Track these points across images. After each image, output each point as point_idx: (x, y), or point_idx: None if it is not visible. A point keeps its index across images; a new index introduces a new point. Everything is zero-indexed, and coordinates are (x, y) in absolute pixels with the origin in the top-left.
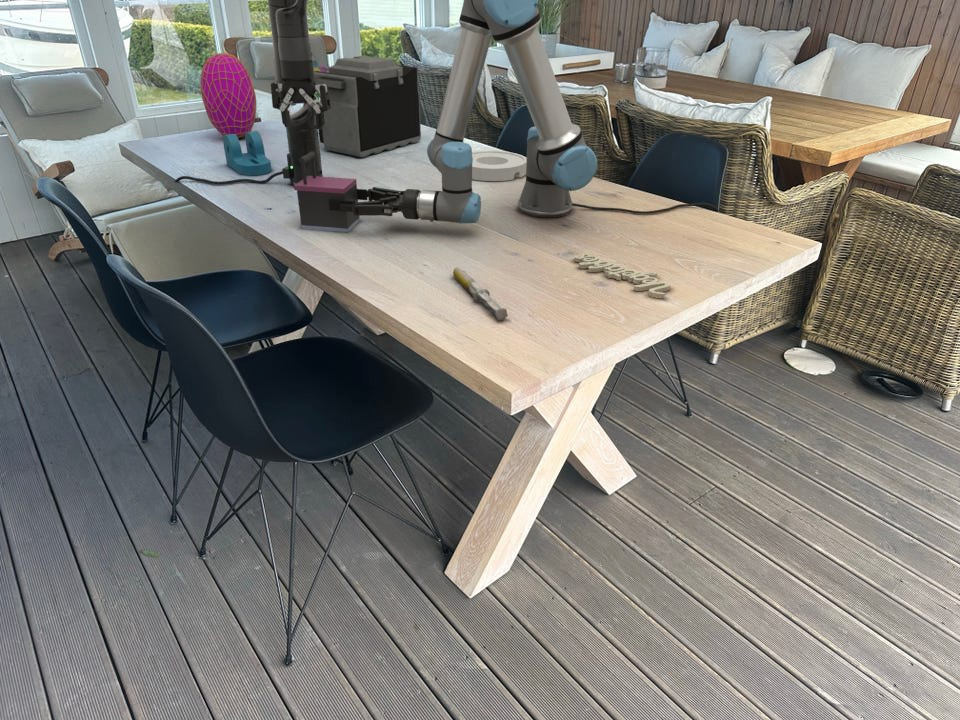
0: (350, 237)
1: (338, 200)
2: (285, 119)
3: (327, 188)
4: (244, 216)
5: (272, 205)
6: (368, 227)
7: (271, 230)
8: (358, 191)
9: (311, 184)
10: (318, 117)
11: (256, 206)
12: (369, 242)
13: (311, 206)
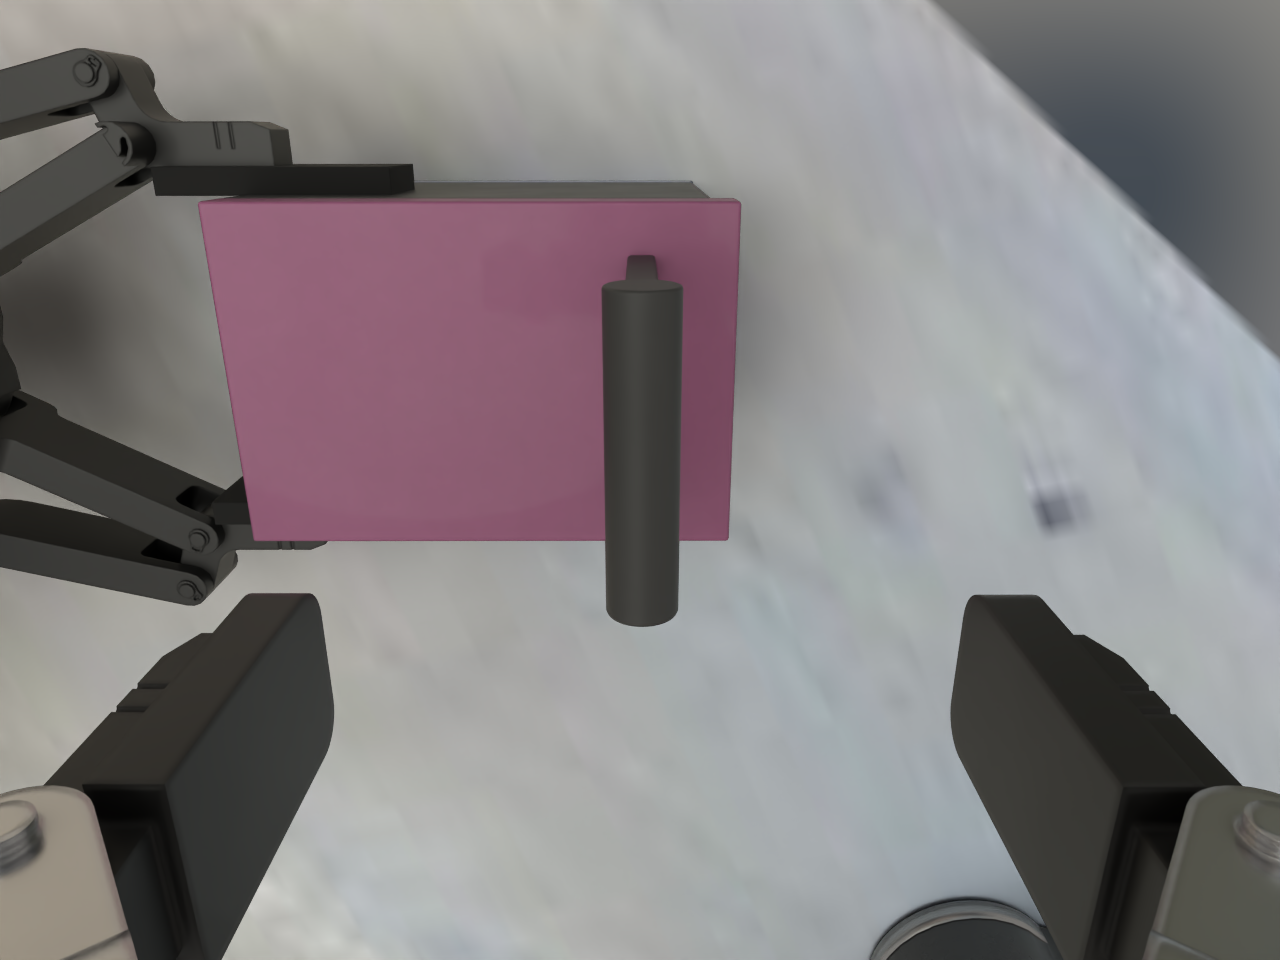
0: (274, 82)
1: (293, 169)
2: (1059, 666)
3: (376, 202)
4: (1183, 337)
5: (1057, 582)
6: None
7: (893, 94)
8: None
9: (578, 272)
10: (134, 724)
11: (1159, 543)
12: (93, 8)
13: (585, 190)
